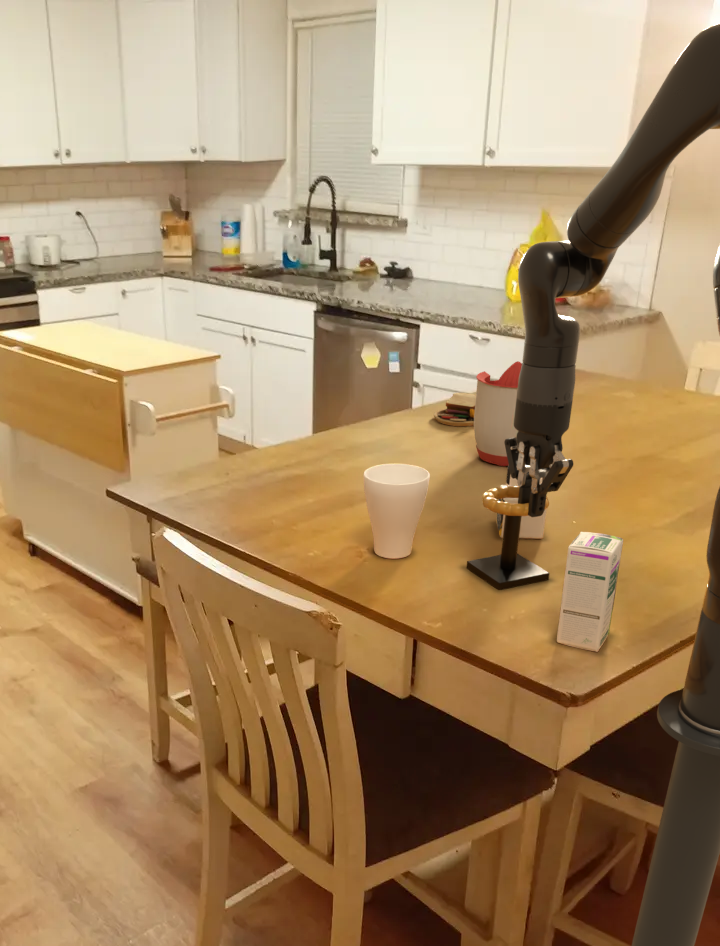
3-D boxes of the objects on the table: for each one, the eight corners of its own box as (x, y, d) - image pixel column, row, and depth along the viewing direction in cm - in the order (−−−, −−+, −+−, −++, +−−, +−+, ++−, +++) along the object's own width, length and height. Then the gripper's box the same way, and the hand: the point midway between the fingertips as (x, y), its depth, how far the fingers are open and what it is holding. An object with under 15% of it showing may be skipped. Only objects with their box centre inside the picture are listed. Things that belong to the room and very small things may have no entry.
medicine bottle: (495, 522, 167) (502, 456, 161) (537, 523, 166) (545, 457, 160) (499, 538, 161) (507, 470, 155) (543, 539, 160) (552, 471, 154)
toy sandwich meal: (423, 422, 223) (424, 402, 221) (450, 409, 233) (452, 390, 230) (472, 430, 216) (474, 409, 214) (498, 416, 226) (500, 396, 223)
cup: (358, 540, 162) (360, 463, 156) (420, 539, 162) (425, 462, 155) (363, 565, 153) (366, 485, 147) (428, 564, 153) (434, 484, 146)
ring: (561, 511, 140) (562, 500, 140) (505, 521, 138) (507, 509, 137) (522, 492, 148) (523, 481, 148) (469, 501, 146) (470, 490, 145)
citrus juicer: (514, 441, 208) (524, 348, 198) (562, 464, 193) (575, 365, 184) (451, 450, 204) (458, 355, 194) (494, 474, 189) (505, 373, 180)
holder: (548, 579, 146) (558, 511, 141) (498, 590, 143) (506, 521, 138) (514, 558, 154) (522, 492, 148) (466, 567, 151) (472, 501, 146)
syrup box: (598, 653, 126) (615, 552, 119) (553, 642, 129) (568, 544, 122) (609, 635, 130) (626, 537, 123) (565, 625, 133) (580, 529, 126)
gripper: (493, 387, 136) (482, 502, 144) (552, 410, 125) (537, 533, 133) (537, 381, 138) (523, 494, 147) (599, 404, 127) (581, 525, 135)
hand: (530, 512), depth 140 cm, fingers closed on ring, 2 cm apart
